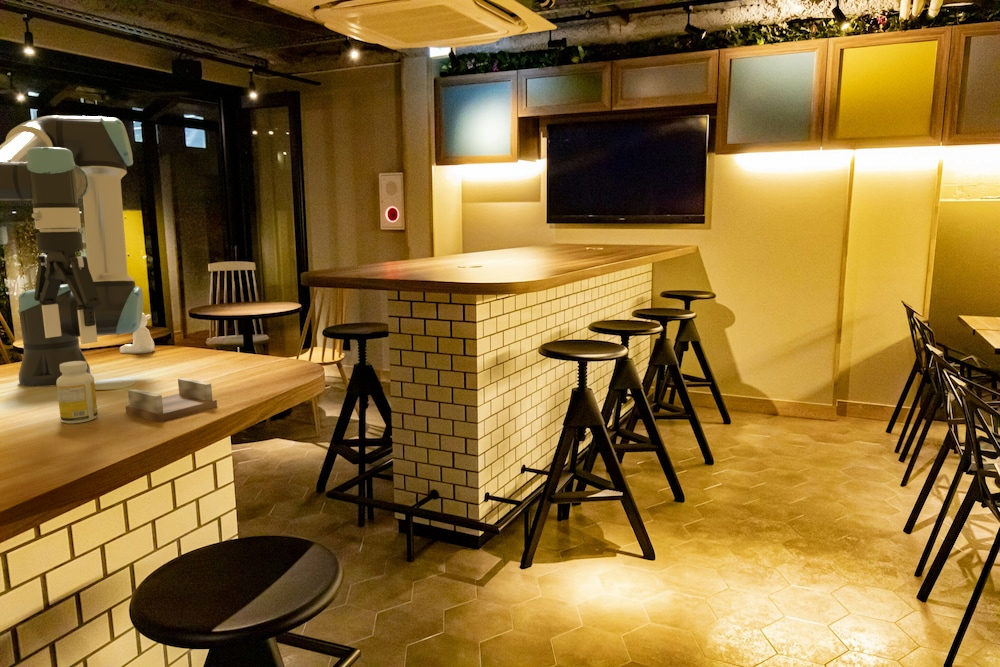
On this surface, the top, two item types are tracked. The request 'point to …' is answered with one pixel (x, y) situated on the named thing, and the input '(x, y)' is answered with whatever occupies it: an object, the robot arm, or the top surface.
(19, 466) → the top surface
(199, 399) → the slot cradle
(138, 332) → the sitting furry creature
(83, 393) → the pill bottle
